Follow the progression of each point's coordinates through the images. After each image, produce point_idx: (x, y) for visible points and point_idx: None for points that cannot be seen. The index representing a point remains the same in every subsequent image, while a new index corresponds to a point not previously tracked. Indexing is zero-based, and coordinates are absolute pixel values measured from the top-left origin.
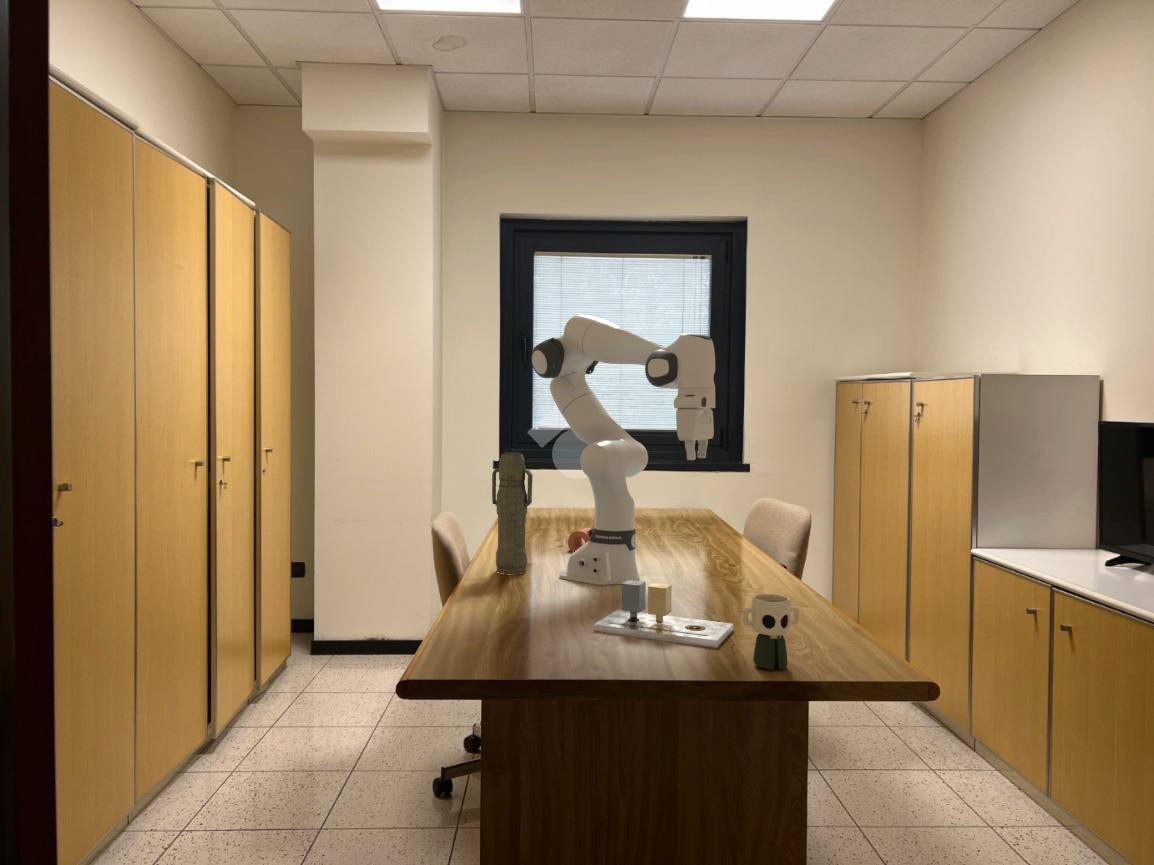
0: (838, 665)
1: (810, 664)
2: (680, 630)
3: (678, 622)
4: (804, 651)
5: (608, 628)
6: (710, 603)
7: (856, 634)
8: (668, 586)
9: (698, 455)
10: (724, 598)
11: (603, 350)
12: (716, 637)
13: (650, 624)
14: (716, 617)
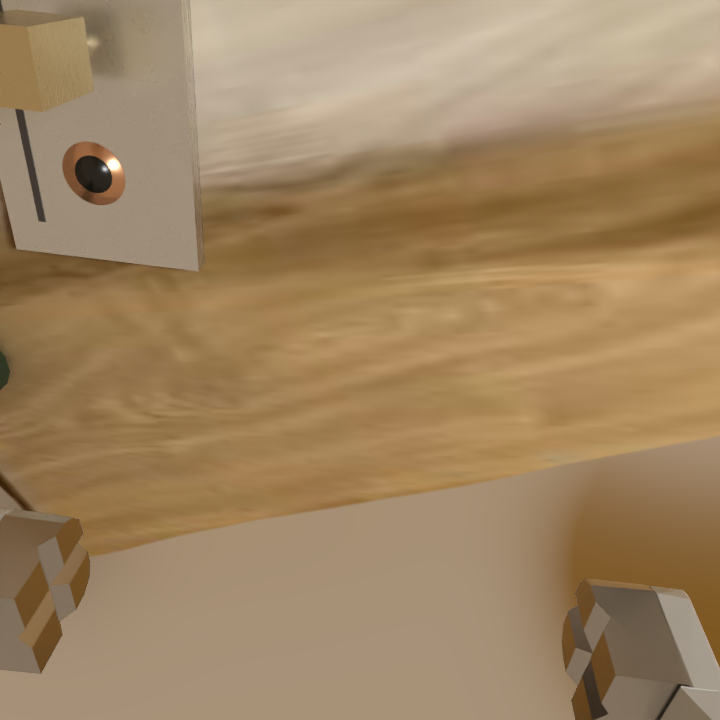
0: (73, 463)
1: (46, 422)
2: (41, 135)
3: (123, 109)
4: (124, 414)
5: None
6: (516, 151)
7: (308, 502)
8: (4, 106)
9: (593, 611)
10: (610, 190)
11: None
12: (41, 244)
13: None
14: (327, 199)
